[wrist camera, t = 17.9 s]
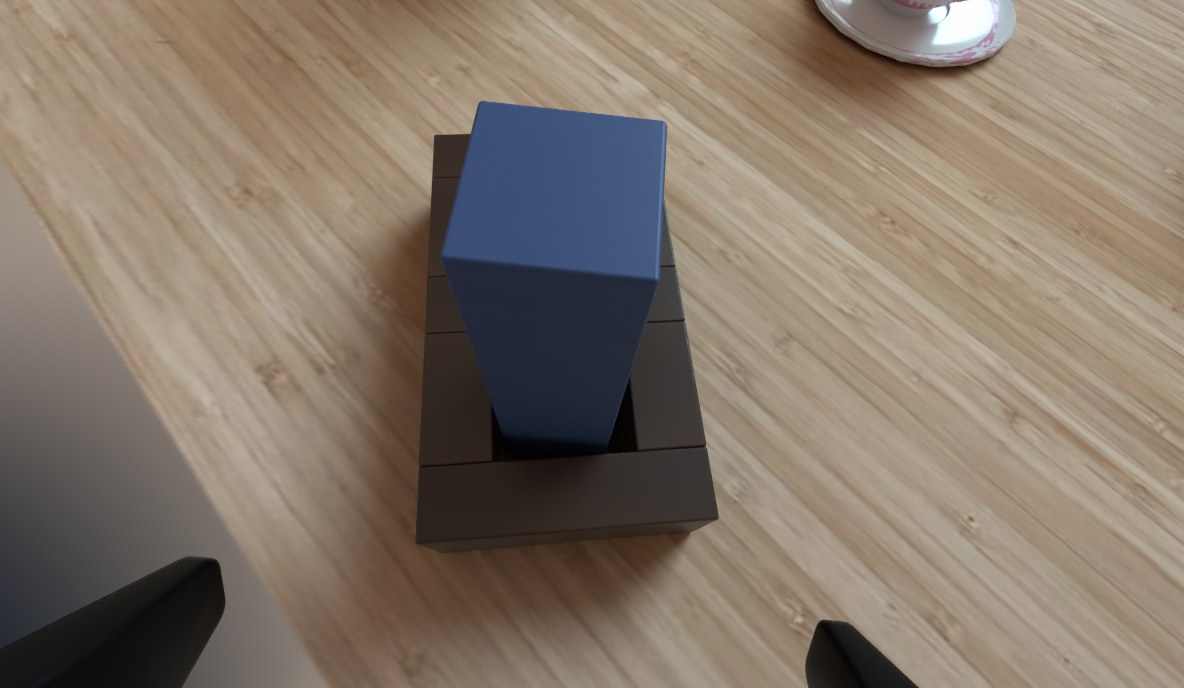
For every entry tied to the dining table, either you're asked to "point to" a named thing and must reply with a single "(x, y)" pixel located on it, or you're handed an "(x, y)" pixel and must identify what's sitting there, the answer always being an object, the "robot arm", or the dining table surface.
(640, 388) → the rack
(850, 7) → the teacup
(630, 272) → the peg
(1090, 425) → the dining table surface
